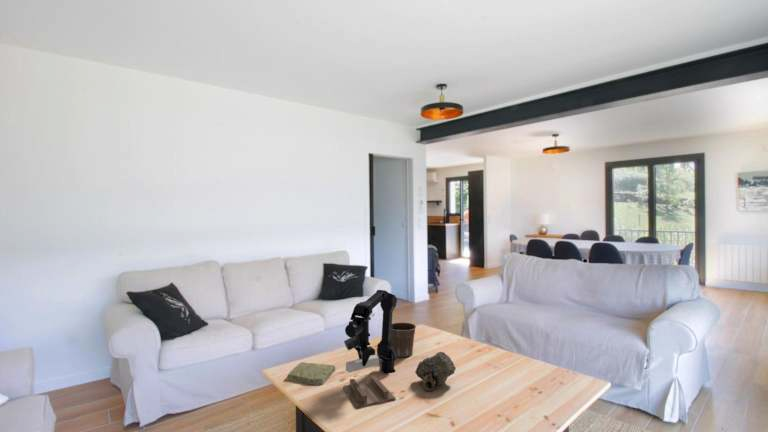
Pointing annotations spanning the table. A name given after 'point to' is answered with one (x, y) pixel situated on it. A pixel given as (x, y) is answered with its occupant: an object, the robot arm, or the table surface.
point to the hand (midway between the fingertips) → (362, 364)
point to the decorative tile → (311, 373)
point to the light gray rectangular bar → (358, 364)
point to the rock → (435, 370)
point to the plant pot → (403, 338)
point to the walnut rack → (368, 392)
